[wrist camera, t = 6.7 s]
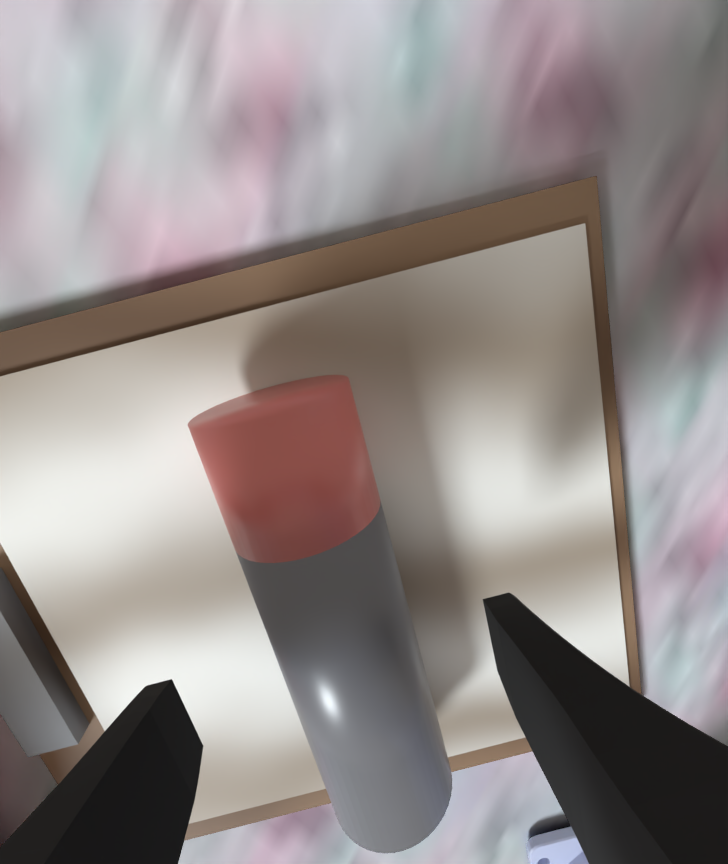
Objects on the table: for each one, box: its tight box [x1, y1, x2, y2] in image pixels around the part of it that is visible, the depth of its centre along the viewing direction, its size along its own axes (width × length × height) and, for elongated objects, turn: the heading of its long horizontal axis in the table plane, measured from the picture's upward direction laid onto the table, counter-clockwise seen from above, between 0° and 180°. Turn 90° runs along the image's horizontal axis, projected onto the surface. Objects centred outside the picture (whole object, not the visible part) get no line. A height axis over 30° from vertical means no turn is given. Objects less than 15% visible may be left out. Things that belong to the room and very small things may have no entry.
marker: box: [188, 375, 452, 853], centre depth 12 cm, size 13×4×4 cm, turn 14°
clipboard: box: [0, 176, 641, 841], centre depth 14 cm, size 18×20×1 cm
